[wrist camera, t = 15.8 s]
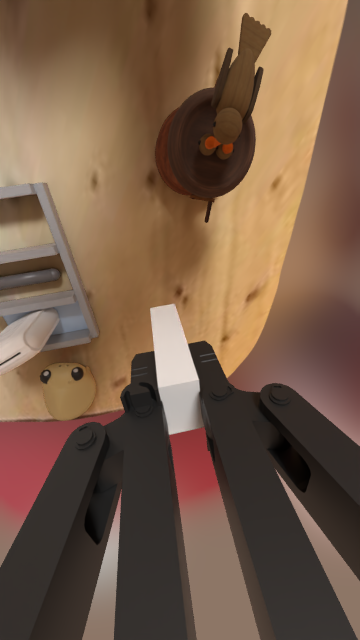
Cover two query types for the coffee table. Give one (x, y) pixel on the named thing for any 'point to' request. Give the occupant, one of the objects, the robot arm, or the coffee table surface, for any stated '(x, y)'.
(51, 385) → the tan frog figure
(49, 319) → the photo printer
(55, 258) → the coffee table surface
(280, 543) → the robot arm
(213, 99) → the music box
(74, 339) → the grey shelf rack
